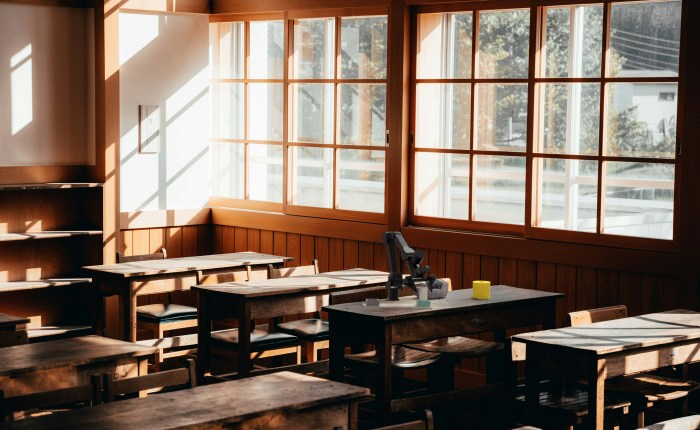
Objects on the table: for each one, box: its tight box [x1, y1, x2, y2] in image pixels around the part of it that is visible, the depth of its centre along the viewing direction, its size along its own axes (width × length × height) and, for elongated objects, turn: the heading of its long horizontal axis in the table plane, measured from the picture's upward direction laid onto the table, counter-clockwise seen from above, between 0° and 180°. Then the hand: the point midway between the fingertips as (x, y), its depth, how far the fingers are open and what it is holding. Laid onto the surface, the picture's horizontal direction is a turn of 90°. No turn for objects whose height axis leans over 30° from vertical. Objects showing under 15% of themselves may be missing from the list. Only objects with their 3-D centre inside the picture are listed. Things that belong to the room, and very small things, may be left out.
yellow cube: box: [472, 280, 491, 300], centre depth 620 cm, size 10×10×9 cm
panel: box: [362, 298, 433, 310], centre depth 576 cm, size 12×37×4 cm, turn 94°
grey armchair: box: [414, 278, 449, 300], centre depth 616 cm, size 13×11×20 cm
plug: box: [418, 283, 428, 301], centre depth 575 cm, size 3×3×12 cm
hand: (424, 292), depth 573 cm, fingers open, 9 cm apart
